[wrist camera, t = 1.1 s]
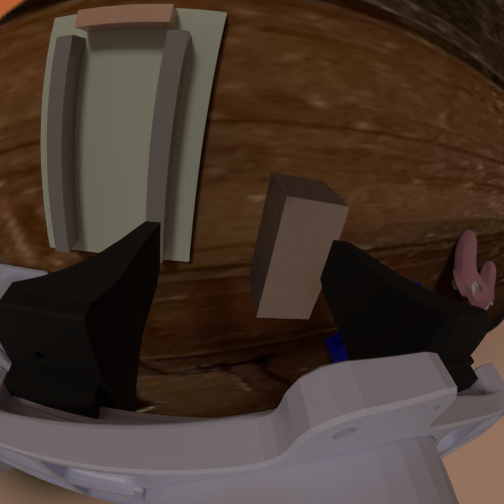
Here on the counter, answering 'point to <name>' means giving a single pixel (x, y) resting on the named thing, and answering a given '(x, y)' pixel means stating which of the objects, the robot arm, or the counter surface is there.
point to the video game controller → (473, 273)
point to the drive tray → (126, 123)
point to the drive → (294, 245)
